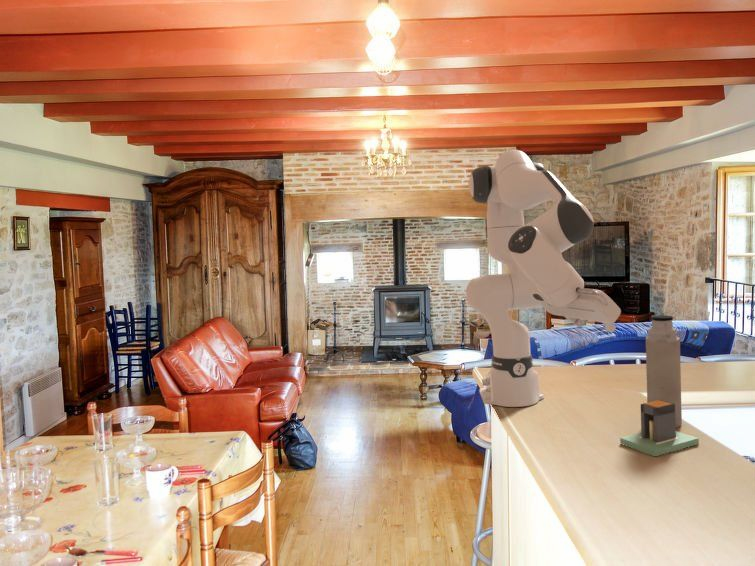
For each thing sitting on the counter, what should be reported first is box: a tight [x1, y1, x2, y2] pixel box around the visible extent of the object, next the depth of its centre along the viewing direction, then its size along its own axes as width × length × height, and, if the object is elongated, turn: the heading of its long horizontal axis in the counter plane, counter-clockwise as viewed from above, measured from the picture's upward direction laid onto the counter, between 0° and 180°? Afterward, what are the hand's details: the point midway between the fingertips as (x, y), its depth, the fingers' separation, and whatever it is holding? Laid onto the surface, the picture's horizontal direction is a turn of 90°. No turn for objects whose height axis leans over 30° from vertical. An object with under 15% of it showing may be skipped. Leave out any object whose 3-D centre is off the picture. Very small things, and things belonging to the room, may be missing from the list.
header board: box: [619, 420, 700, 457], centre depth 142 cm, size 14×10×6 cm
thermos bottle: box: [645, 314, 683, 428], centre depth 155 cm, size 8×8×28 cm
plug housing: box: [640, 400, 677, 443], centre depth 142 cm, size 6×4×8 cm
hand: (596, 327), depth 138 cm, fingers open, 8 cm apart
